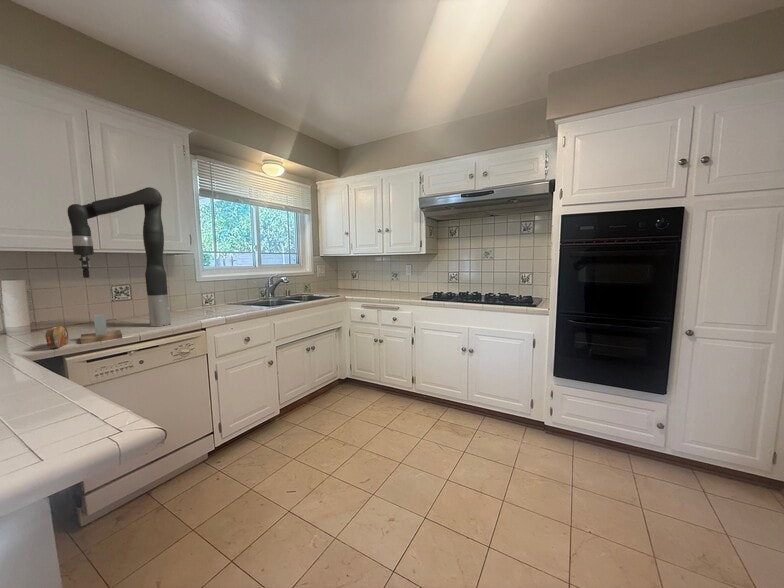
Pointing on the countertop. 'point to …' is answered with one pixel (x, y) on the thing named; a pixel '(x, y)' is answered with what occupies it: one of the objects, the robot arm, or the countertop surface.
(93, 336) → the walnut board
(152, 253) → the robot arm
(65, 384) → the countertop surface
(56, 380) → the countertop surface
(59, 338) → the tin
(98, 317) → the slate block
